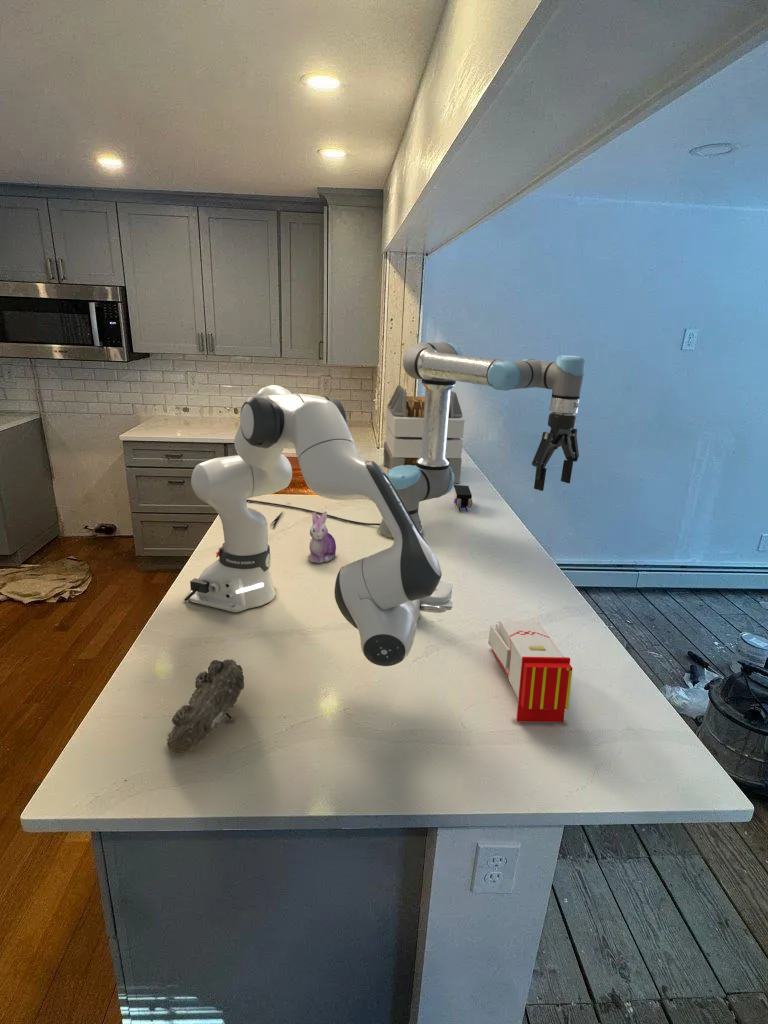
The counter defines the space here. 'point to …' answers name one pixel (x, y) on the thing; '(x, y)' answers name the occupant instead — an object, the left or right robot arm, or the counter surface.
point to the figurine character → (462, 497)
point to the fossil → (206, 705)
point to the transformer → (419, 431)
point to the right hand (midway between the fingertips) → (552, 485)
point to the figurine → (321, 540)
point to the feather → (276, 520)
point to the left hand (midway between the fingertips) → (405, 574)
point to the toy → (533, 669)
